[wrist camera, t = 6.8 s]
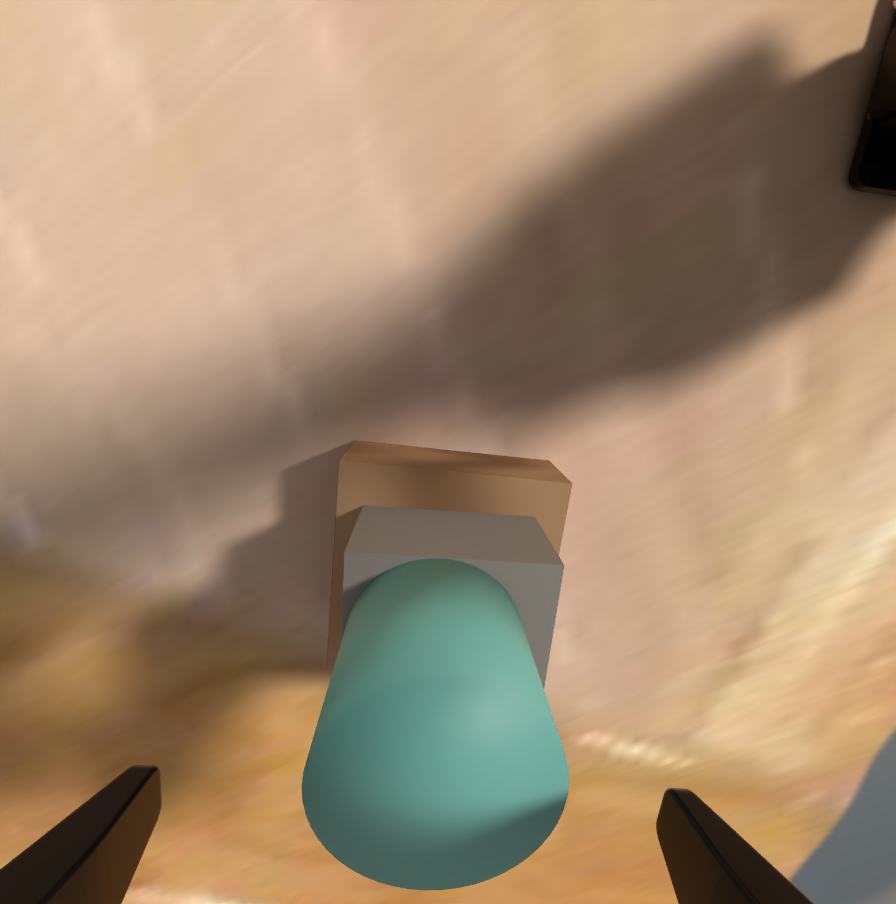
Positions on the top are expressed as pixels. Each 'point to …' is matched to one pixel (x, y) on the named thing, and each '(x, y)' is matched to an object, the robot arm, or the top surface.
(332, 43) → the top surface
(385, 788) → the teal bullet block
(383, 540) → the grey square block
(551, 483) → the walnut base block
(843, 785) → the top surface
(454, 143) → the top surface
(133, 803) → the robot arm
